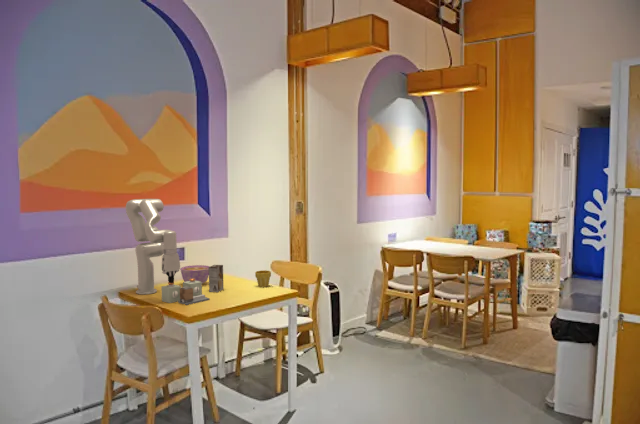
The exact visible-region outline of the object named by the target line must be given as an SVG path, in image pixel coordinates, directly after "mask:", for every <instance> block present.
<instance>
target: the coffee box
mask: <svg viewBox="0 0 640 424" xmlns="http://www.w3.org/2000/svg"><path fill="white" fill-rule="evenodd" d="M222 290H224V265H223V264H213V265H211V266H210V267H209V276H208V291H209V293H220V291H222Z"/></svg>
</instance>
